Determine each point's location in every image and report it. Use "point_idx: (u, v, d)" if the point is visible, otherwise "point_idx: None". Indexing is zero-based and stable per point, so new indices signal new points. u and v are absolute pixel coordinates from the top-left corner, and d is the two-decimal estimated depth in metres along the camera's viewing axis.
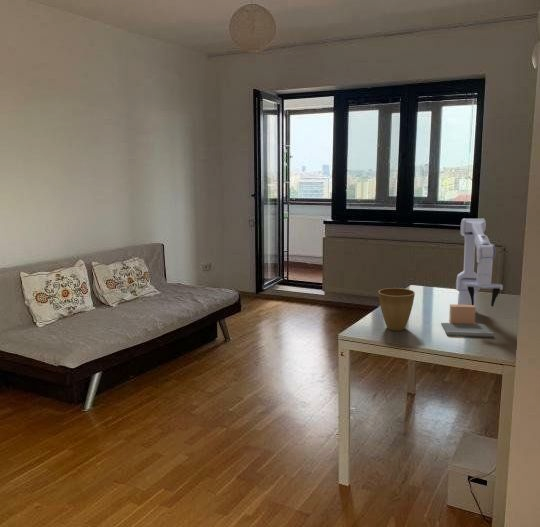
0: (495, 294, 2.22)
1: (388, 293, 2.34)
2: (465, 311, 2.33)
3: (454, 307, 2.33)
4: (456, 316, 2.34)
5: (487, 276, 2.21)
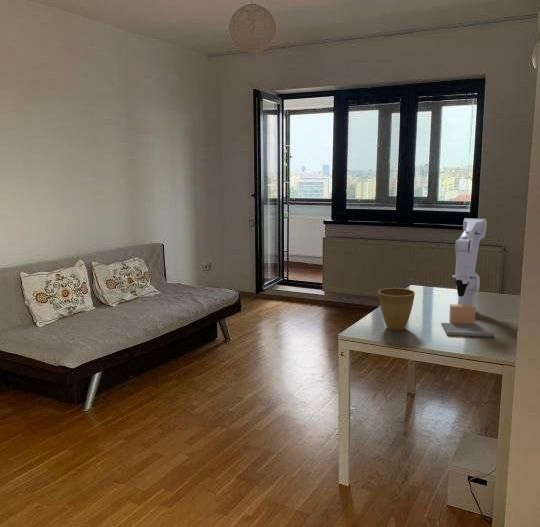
0: (456, 284, 2.38)
1: (388, 293, 2.34)
2: (465, 311, 2.33)
3: (454, 307, 2.33)
4: (456, 316, 2.34)
5: (456, 267, 2.37)
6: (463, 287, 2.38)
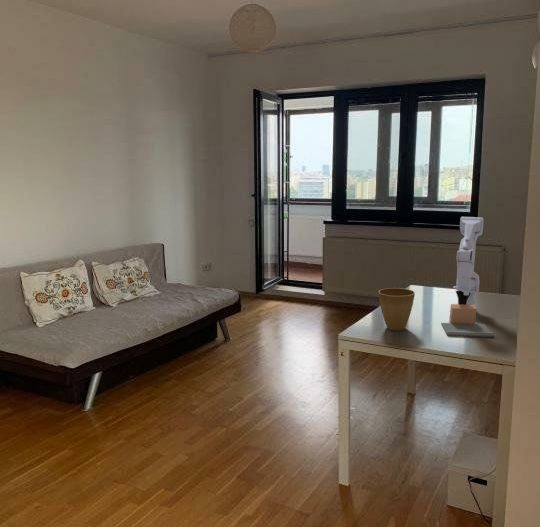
0: (457, 295, 2.33)
1: (388, 293, 2.34)
2: (466, 312, 2.31)
3: (455, 309, 2.31)
4: (456, 317, 2.33)
5: (457, 278, 2.32)
6: (464, 298, 2.33)
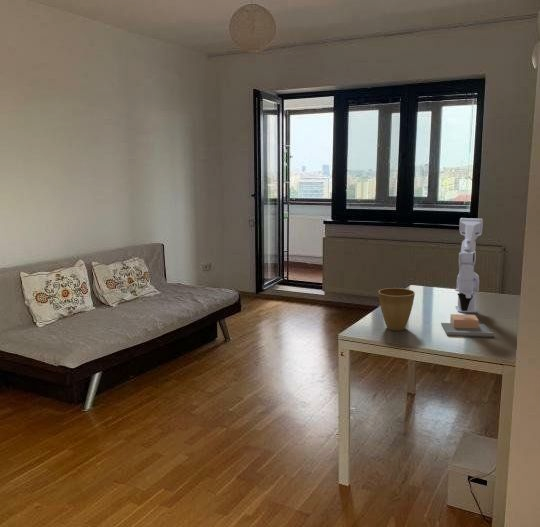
0: (459, 297, 2.29)
1: (388, 293, 2.34)
2: None
3: None
4: None
5: (459, 281, 2.28)
6: (466, 301, 2.29)
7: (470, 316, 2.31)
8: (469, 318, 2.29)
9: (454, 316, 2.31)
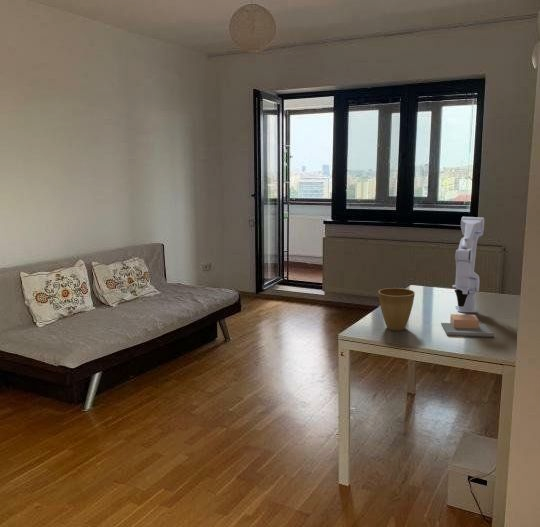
0: (456, 294, 2.36)
1: (388, 293, 2.34)
2: None
3: None
4: None
5: (456, 277, 2.35)
6: (463, 297, 2.36)
7: (470, 316, 2.31)
8: (469, 318, 2.29)
9: (454, 316, 2.31)
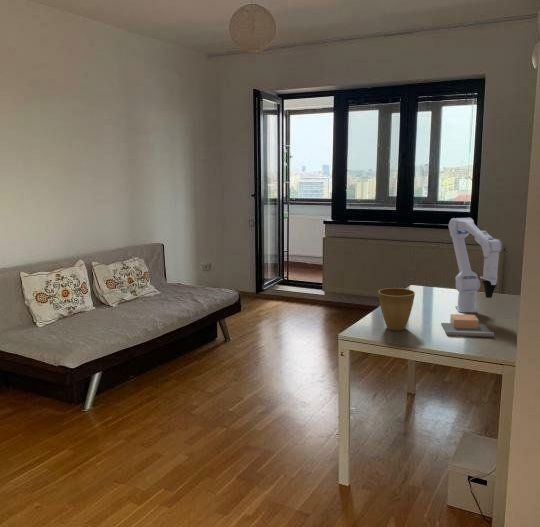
0: (484, 285, 2.36)
1: (388, 293, 2.34)
2: None
3: None
4: None
5: (484, 268, 2.35)
6: (491, 288, 2.36)
7: (470, 316, 2.31)
8: (469, 318, 2.29)
9: (454, 316, 2.31)
